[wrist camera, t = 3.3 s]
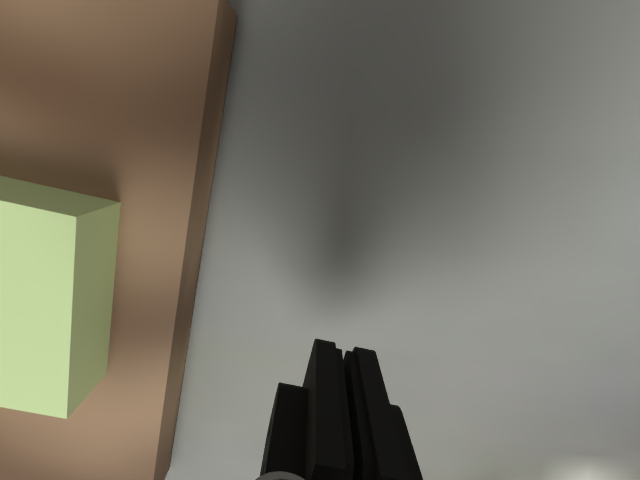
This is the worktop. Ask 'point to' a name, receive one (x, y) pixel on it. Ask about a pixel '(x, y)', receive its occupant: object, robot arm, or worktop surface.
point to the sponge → (54, 295)
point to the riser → (122, 186)
